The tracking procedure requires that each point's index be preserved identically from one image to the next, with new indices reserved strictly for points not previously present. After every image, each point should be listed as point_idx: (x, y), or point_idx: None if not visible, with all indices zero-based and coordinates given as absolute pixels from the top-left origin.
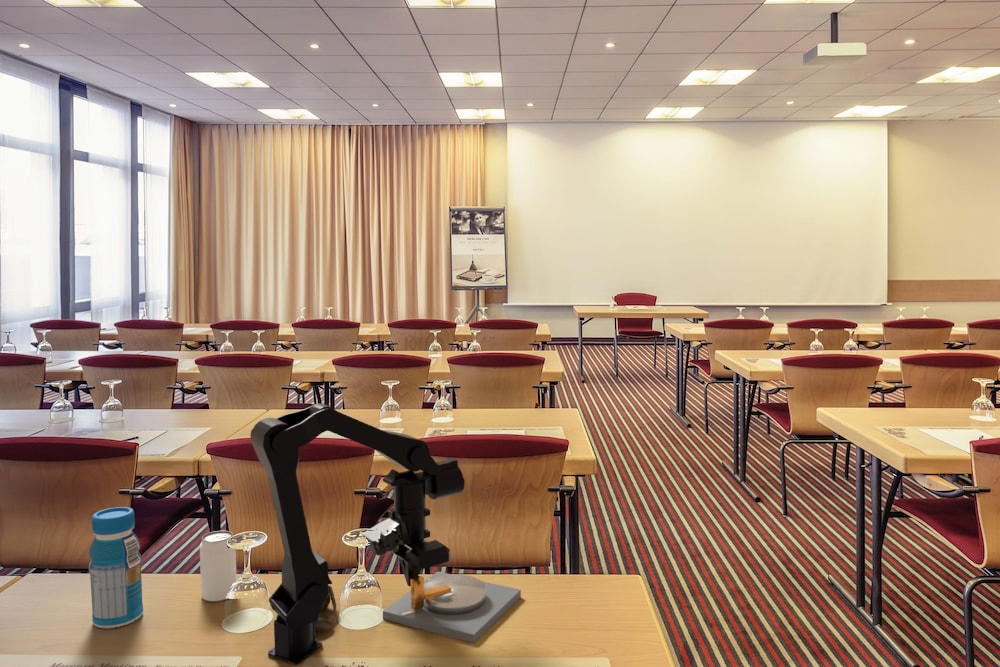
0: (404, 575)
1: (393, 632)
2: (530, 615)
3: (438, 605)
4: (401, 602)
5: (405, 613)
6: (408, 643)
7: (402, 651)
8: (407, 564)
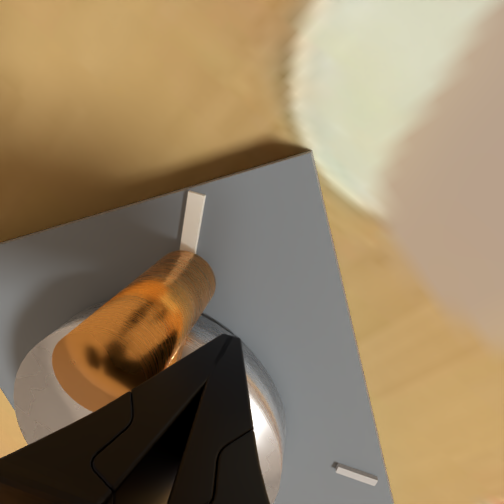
0: (245, 379)
1: (173, 103)
2: (15, 445)
3: (83, 319)
4: (305, 277)
5: (192, 210)
6: (59, 91)
7: (18, 25)
8: (32, 459)
